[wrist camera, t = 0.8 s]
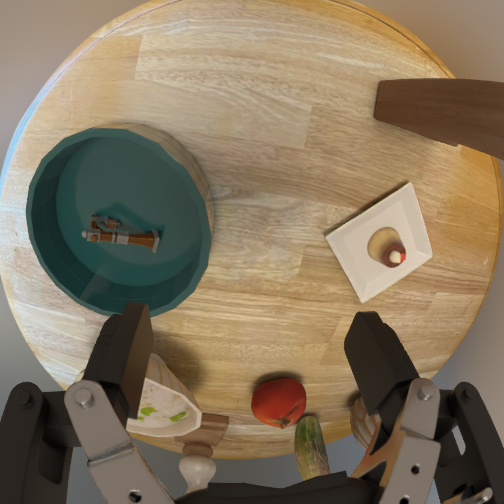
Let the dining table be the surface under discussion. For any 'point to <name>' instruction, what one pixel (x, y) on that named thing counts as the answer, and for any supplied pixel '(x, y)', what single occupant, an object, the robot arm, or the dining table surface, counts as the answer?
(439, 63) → the dining table surface
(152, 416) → the bowl
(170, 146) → the teal bowl
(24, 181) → the dining table surface
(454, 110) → the wooden block
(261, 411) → the tomato
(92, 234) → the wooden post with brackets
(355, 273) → the dessert
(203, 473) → the candle holder
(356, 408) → the vase
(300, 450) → the vegetable
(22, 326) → the dining table surface
